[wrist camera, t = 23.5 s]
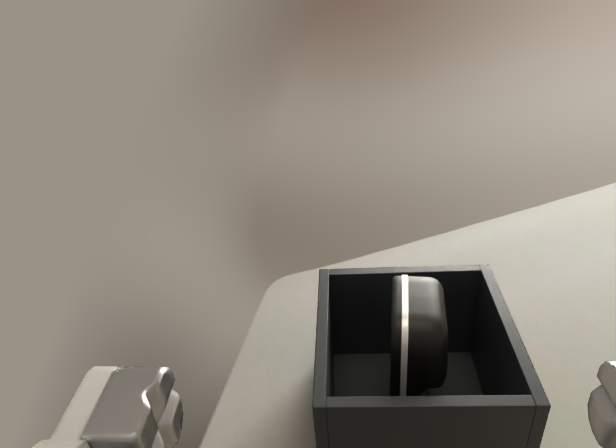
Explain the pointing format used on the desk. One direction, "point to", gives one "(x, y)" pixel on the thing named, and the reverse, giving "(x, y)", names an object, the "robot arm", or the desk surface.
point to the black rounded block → (417, 336)
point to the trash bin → (442, 401)
